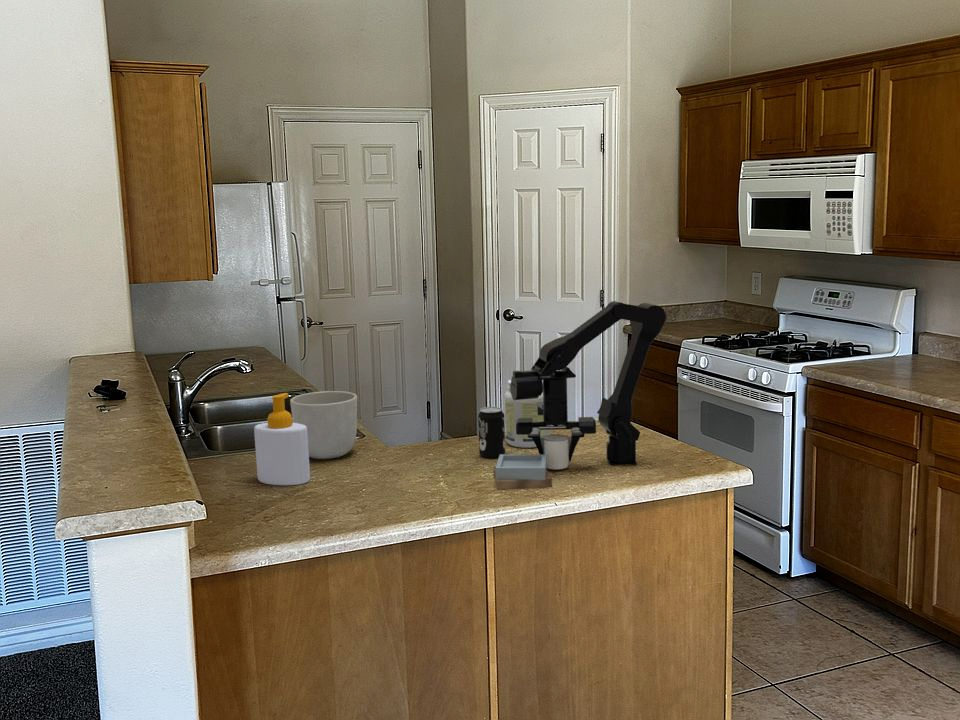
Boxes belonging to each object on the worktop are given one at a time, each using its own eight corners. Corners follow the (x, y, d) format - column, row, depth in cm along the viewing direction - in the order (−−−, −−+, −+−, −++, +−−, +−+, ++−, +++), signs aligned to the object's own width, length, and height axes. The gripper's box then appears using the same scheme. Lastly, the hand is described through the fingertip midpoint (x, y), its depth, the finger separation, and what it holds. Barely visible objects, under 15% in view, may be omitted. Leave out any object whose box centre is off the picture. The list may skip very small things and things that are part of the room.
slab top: (546, 465, 209) (546, 454, 208) (545, 479, 198) (544, 468, 197) (500, 465, 210) (499, 454, 209) (495, 479, 199) (495, 468, 199)
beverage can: (502, 459, 222) (501, 412, 220) (477, 458, 223) (475, 412, 221) (507, 452, 228) (506, 406, 226) (482, 451, 229) (480, 406, 227)
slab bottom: (544, 474, 211) (544, 463, 210) (551, 489, 199) (551, 478, 198) (493, 476, 210) (493, 466, 209) (498, 492, 198) (498, 481, 198)
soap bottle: (317, 477, 211) (312, 393, 208) (299, 487, 203) (294, 401, 200) (269, 473, 215) (263, 391, 212) (249, 483, 208) (243, 398, 204)
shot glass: (540, 462, 216) (539, 434, 214) (568, 461, 216) (567, 433, 215) (544, 470, 209) (543, 441, 208) (573, 469, 209) (572, 440, 208)
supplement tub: (558, 439, 240) (557, 377, 237) (542, 450, 229) (541, 386, 226) (515, 435, 245) (514, 375, 242) (498, 446, 234) (496, 383, 231)
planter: (368, 446, 237) (365, 391, 235) (348, 464, 221) (344, 405, 218) (308, 445, 240) (304, 390, 238) (283, 463, 224) (279, 404, 221)
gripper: (593, 389, 217) (593, 451, 219) (516, 390, 218) (518, 452, 221) (595, 399, 206) (596, 464, 209) (515, 400, 207) (516, 465, 210)
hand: (556, 460), depth 212 cm, fingers closed on shot glass, 6 cm apart
